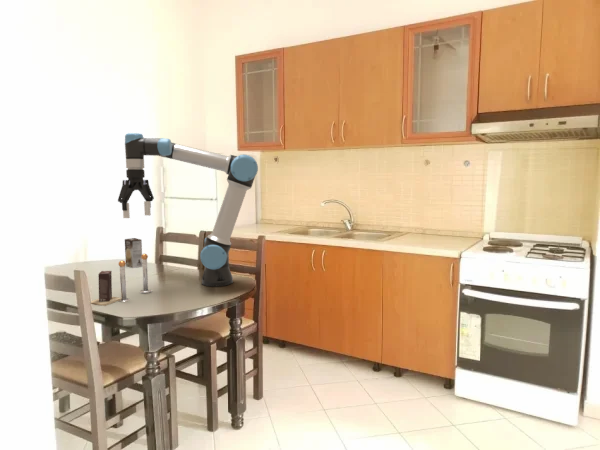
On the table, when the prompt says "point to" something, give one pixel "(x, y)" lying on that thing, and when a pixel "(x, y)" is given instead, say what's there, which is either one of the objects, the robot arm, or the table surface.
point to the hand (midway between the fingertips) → (137, 216)
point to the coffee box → (133, 252)
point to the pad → (106, 301)
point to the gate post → (145, 274)
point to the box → (105, 286)
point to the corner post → (123, 282)
